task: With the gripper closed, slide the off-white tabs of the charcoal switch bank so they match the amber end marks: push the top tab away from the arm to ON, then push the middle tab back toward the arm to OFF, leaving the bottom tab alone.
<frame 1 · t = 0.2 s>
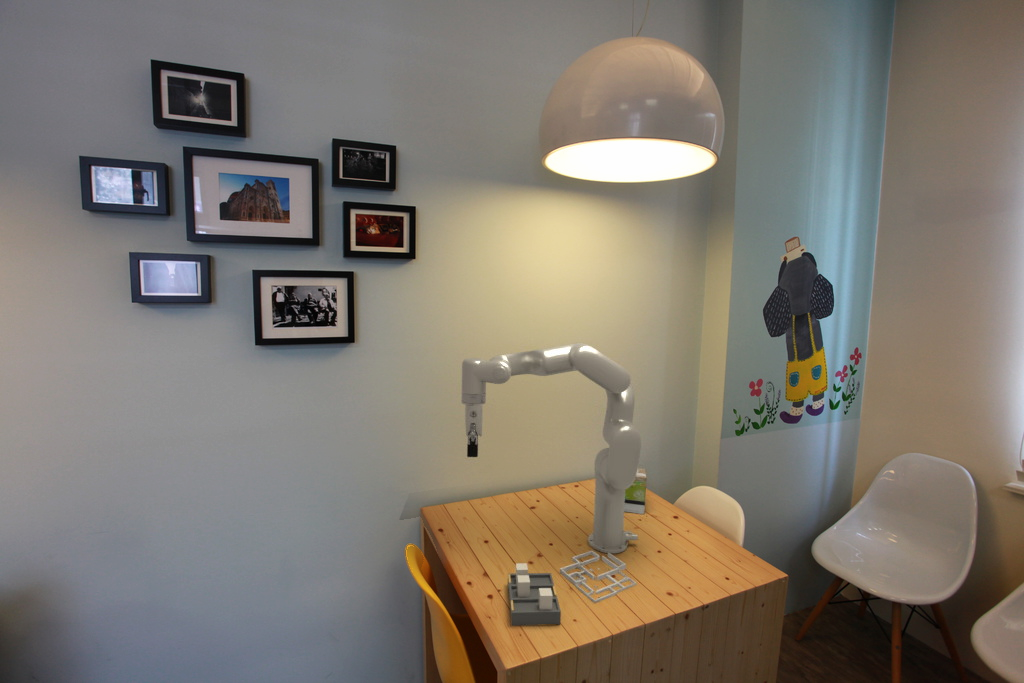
hand: (472, 451, 144), 31 cm above the table, tool pointing down, fingers open, 9 cm apart
tab 3: (545, 599, 114), point 5 cm above the table, slide at -2.5 cm
floor plan model: (590, 571, 136), on the table
switch bank: (532, 603, 120), on the table
tab 1: (521, 573, 125), point 5 cm above the table, slide at 2.5 cm
tea box: (623, 507, 178), on the table
tab 2: (523, 586, 119), point 5 cm above the table, slide at 2.5 cm
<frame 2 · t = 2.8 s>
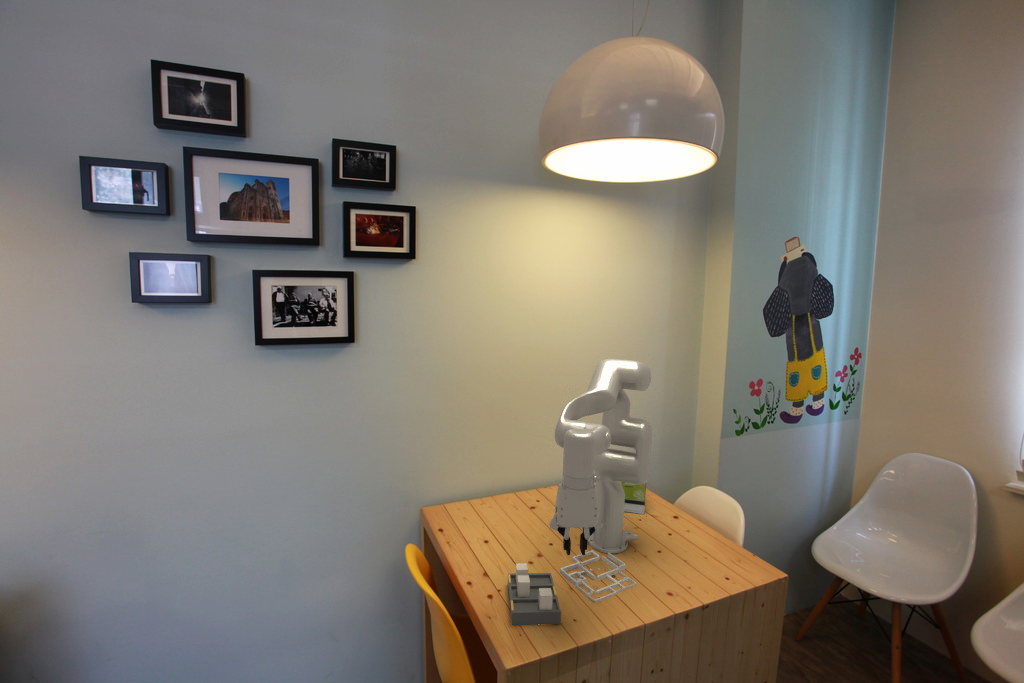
hand: (575, 551, 113), 17 cm above the table, tool pointing down, fingers open, 3 cm apart
nothing on the table moved.
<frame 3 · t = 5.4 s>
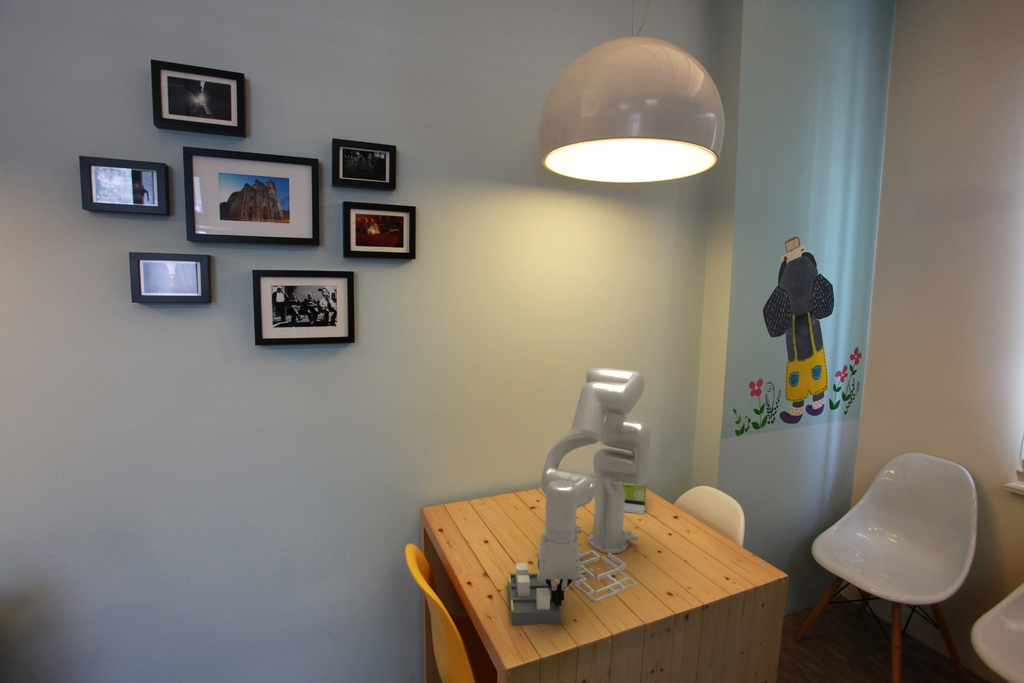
hand: (557, 602, 114), 4 cm above the table, tool pointing down, fingers closed
tab 3: (542, 599, 114), point 5 cm above the table, slide at -1.9 cm, touching gripper
everything else where it was.
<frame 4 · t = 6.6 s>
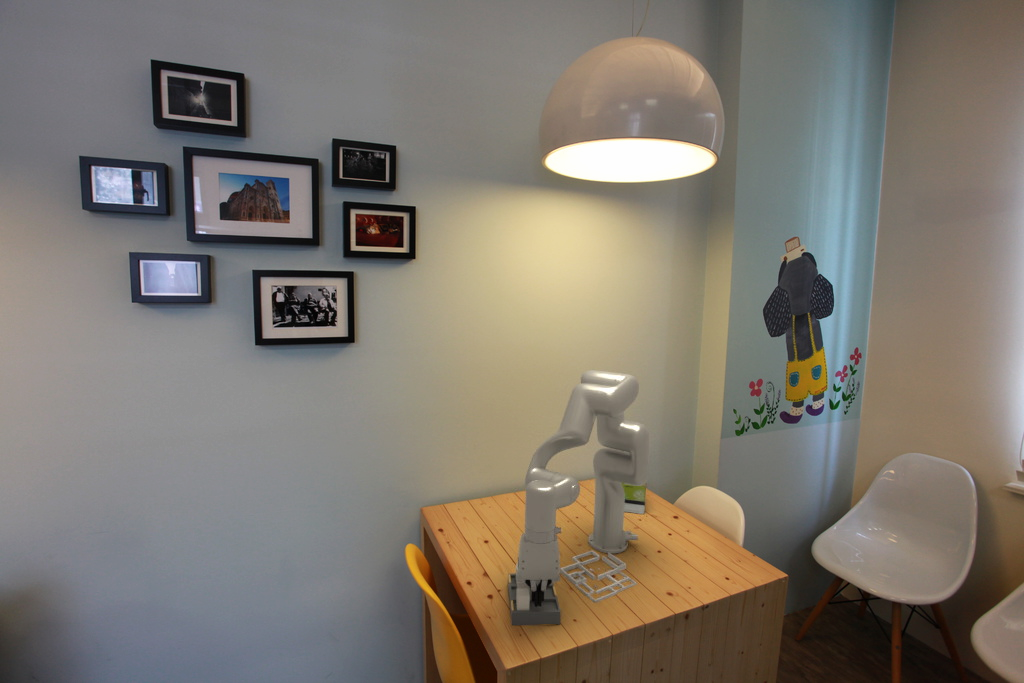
hand: (537, 602, 114), 4 cm above the table, tool pointing down, fingers closed
tab 3: (522, 599, 114), point 5 cm above the table, slide at 3.2 cm, touching gripper
everything else where it was.
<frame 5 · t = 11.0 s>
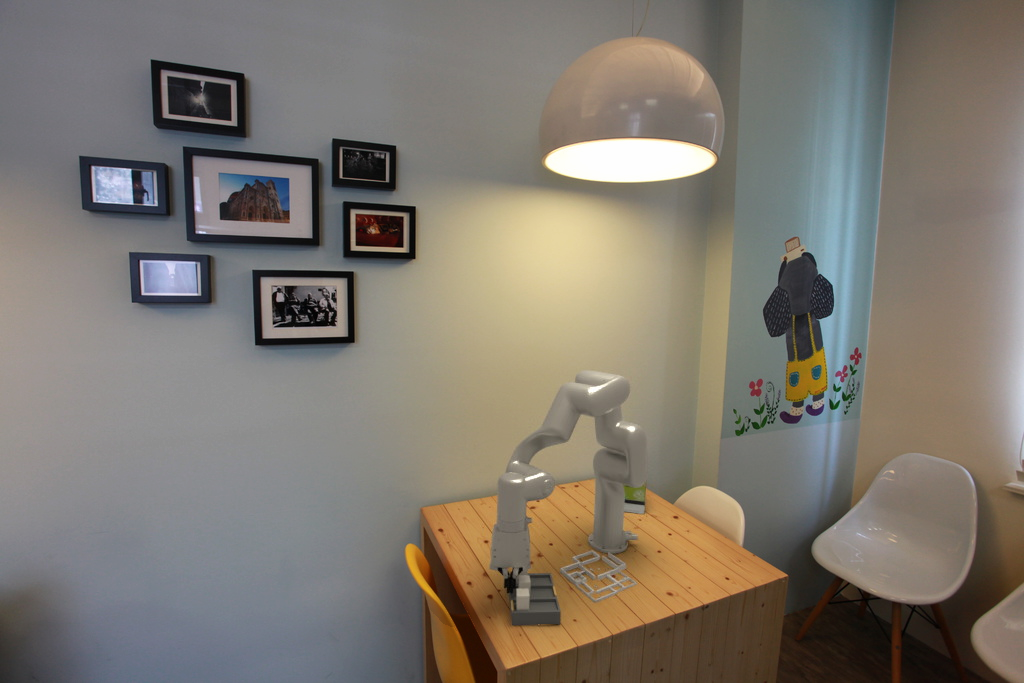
hand: (509, 589, 119), 4 cm above the table, tool pointing down, fingers closed
tab 3: (522, 599, 114), point 5 cm above the table, slide at 3.2 cm
tab 2: (524, 586, 119), point 5 cm above the table, slide at 2.3 cm, touching gripper
everything else where it was.
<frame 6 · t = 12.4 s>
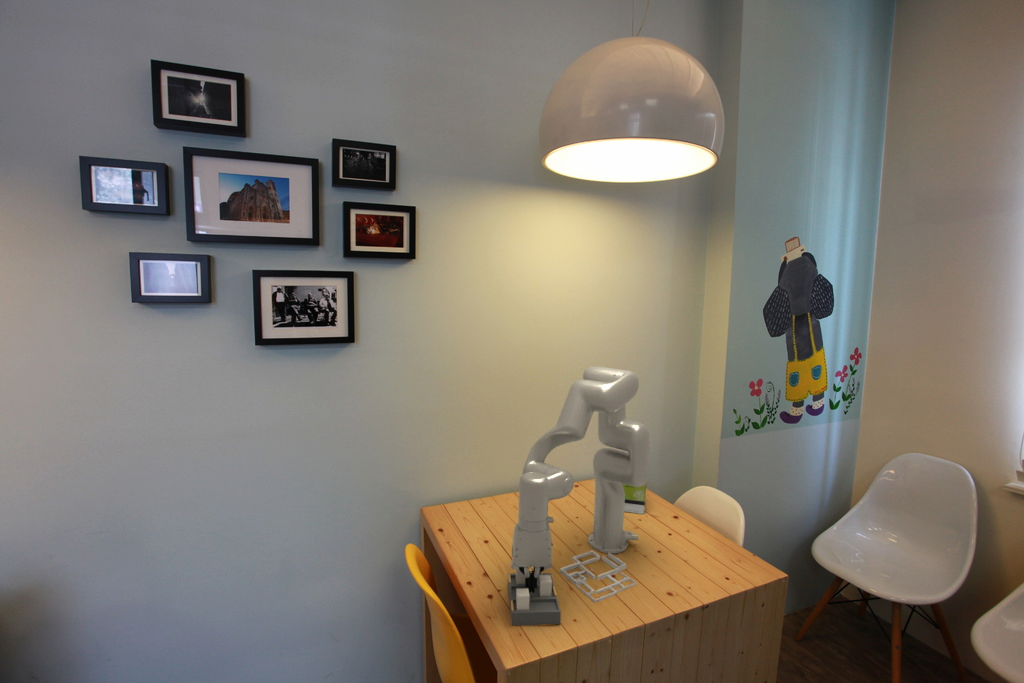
hand: (530, 589, 119), 4 cm above the table, tool pointing down, fingers closed
tab 2: (545, 585, 120), point 5 cm above the table, slide at -3.2 cm, touching gripper
everything else where it was.
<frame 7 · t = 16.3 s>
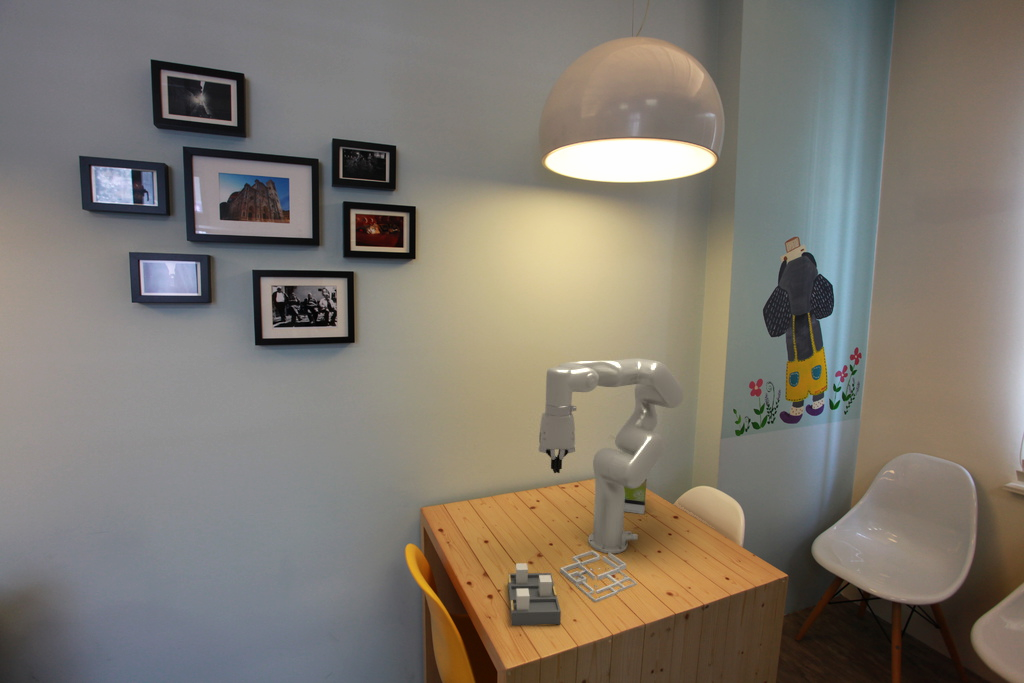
hand: (556, 471, 135), 29 cm above the table, tool pointing down, fingers closed
tab 2: (545, 585, 120), point 5 cm above the table, slide at -3.2 cm
everything else where it was.
at the end: tab 3 slide at 3.2 cm; tab 2 slide at -3.2 cm; tab 1 slide at 2.5 cm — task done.
